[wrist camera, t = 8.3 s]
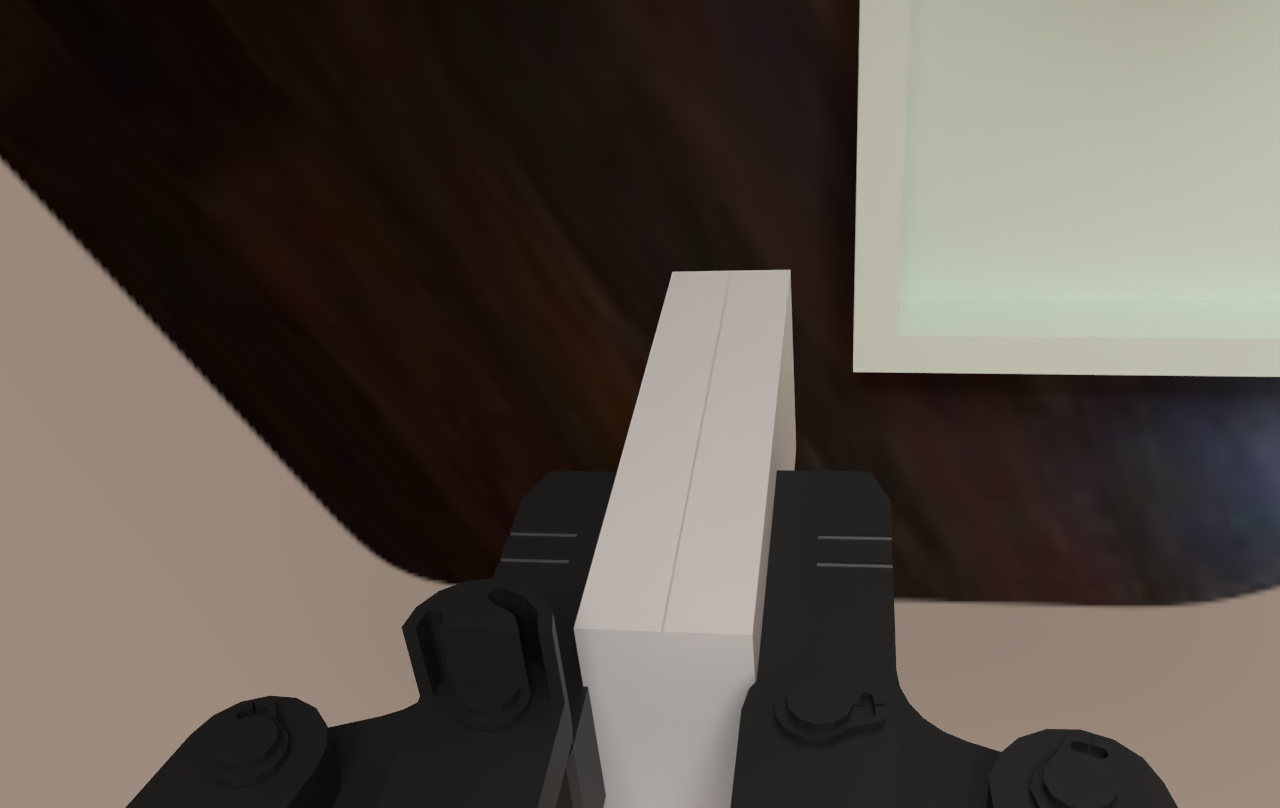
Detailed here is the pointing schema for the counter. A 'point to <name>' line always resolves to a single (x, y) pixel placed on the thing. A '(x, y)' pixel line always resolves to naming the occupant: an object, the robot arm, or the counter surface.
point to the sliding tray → (1068, 187)
